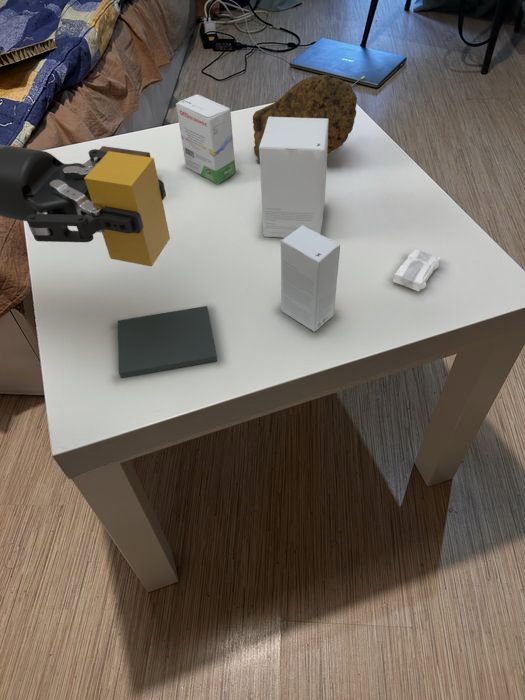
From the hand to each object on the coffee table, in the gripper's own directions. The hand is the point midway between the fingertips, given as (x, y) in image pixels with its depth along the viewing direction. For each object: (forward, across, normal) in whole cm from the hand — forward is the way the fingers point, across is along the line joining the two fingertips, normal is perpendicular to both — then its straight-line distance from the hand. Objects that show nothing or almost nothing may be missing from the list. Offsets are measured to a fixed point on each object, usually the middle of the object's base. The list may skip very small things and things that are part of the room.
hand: (151, 206), depth 53 cm
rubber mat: (-1, +2, -20) cm, 20 cm away
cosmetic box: (+15, -8, -20) cm, 26 cm away
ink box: (-10, -38, -20) cm, 44 cm away
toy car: (+28, -20, -20) cm, 40 cm away
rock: (+4, -47, -20) cm, 51 cm away
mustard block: (-3, 0, -6) cm, 7 cm away
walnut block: (-23, -28, -20) cm, 42 cm away
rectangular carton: (+8, -27, -20) cm, 35 cm away
